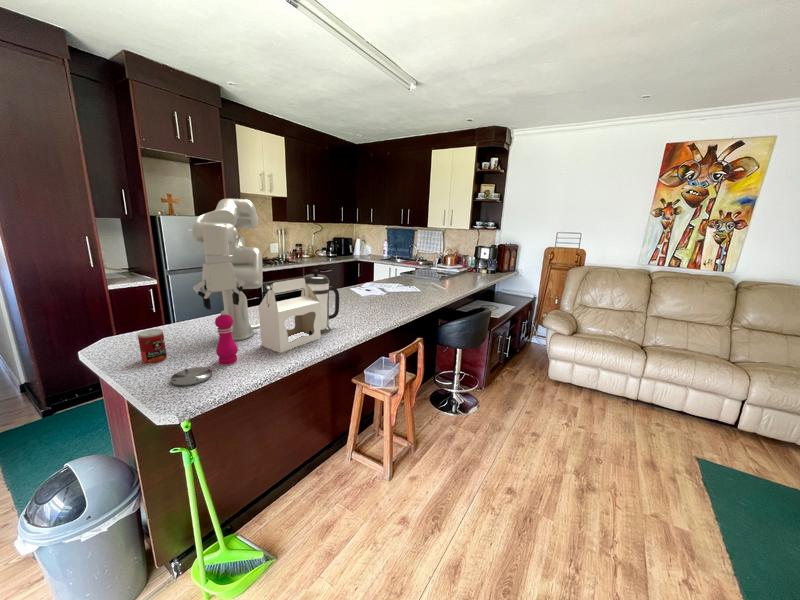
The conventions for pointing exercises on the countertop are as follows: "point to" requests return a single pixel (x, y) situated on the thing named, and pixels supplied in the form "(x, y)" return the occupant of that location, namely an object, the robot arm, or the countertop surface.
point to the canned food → (152, 345)
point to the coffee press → (322, 297)
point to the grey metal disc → (191, 376)
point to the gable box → (278, 312)
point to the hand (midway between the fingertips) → (222, 306)
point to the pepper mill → (225, 340)
